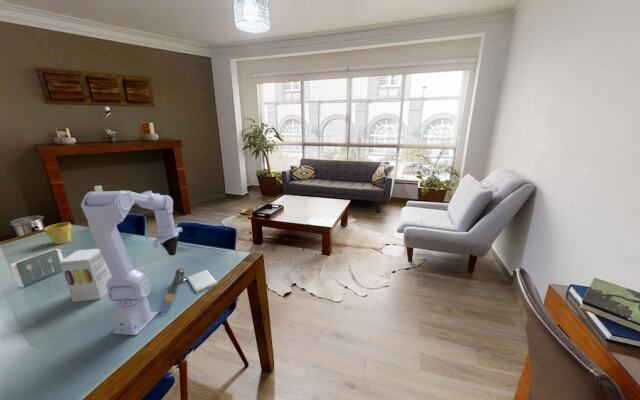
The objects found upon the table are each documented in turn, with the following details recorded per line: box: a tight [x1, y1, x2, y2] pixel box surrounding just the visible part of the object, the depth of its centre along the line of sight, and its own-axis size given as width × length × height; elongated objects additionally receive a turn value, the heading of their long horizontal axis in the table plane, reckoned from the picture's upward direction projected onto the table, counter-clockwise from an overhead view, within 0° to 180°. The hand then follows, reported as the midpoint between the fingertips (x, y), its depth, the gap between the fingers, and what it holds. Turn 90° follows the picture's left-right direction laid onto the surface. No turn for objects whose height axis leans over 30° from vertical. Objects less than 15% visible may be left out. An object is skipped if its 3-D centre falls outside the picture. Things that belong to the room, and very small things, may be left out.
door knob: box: [179, 275, 188, 285], centre depth 102 cm, size 4×4×3 cm
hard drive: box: [186, 269, 219, 294], centre depth 102 cm, size 2×8×12 cm
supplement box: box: [59, 248, 112, 303], centre depth 94 cm, size 10×9×17 cm
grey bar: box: [164, 268, 185, 302], centre depth 95 cm, size 3×18×2 cm, turn 17°
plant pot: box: [43, 221, 73, 245], centre depth 138 cm, size 10×10×10 cm
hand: (172, 254), depth 103 cm, fingers closed
